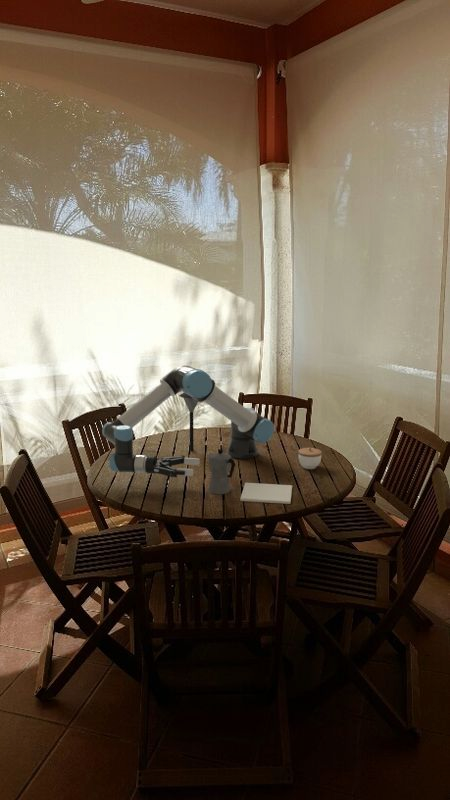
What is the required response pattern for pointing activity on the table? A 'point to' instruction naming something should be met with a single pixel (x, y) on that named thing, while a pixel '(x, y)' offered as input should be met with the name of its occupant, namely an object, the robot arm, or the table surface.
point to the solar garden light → (191, 406)
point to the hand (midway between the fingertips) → (196, 467)
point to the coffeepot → (220, 472)
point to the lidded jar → (309, 457)
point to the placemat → (267, 493)
